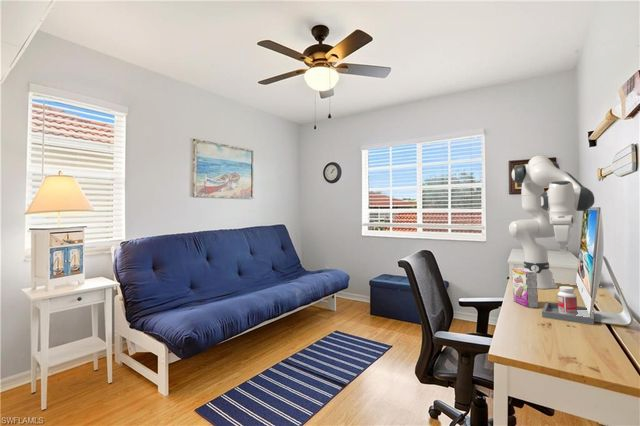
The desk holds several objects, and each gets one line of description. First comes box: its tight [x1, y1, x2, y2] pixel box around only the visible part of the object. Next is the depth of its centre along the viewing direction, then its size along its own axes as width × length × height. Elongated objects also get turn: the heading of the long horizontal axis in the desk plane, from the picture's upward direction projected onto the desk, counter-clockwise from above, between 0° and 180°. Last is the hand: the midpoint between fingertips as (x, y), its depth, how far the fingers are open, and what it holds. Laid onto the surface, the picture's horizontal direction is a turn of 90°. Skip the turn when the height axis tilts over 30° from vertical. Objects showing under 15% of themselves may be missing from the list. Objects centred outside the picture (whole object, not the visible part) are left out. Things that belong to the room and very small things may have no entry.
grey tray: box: [541, 301, 595, 326], centre depth 127 cm, size 16×16×2 cm
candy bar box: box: [511, 267, 539, 309], centre depth 144 cm, size 11×5×16 cm, turn 179°
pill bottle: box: [557, 285, 578, 315], centre depth 127 cm, size 6×6×11 cm
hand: (564, 252), depth 127 cm, fingers open, 8 cm apart
